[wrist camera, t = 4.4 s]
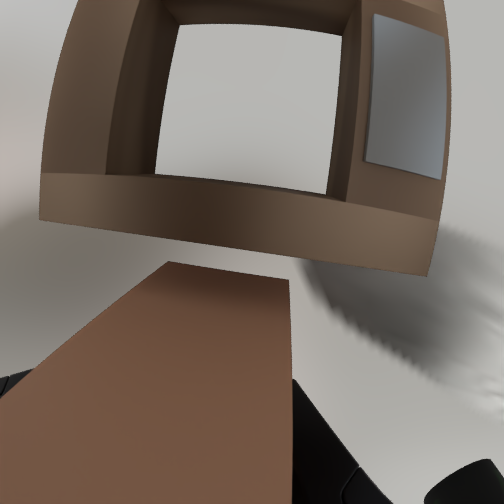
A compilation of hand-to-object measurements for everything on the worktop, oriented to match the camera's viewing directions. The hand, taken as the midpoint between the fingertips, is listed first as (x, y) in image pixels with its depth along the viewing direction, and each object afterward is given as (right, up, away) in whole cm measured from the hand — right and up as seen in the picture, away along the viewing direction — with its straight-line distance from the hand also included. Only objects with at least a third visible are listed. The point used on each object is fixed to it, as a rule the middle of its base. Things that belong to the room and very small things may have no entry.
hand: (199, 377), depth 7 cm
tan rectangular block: (0, +1, +3) cm, 3 cm away
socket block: (+2, +11, 0) cm, 11 cm away
